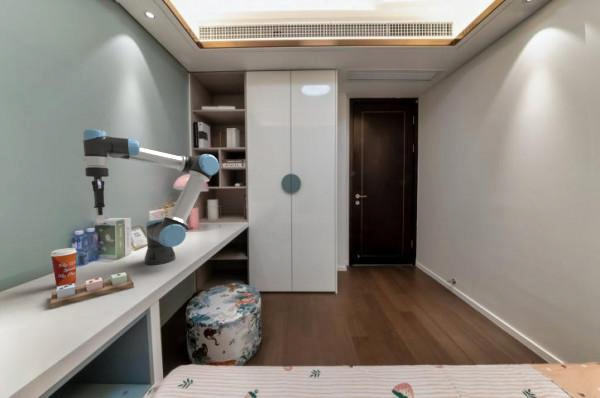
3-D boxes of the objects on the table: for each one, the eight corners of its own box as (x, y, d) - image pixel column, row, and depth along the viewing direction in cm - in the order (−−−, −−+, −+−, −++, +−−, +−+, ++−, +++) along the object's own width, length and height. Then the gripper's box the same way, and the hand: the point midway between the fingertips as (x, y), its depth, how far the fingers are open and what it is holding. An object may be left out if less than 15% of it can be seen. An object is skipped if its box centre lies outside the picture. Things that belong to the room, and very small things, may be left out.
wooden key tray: (128, 279, 109) (128, 275, 109) (133, 287, 101) (133, 282, 101) (52, 297, 93) (51, 292, 93) (51, 308, 84) (50, 303, 84)
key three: (75, 291, 94) (74, 282, 94) (75, 295, 91) (74, 286, 91) (57, 295, 91) (56, 286, 91) (57, 299, 88) (56, 290, 87)
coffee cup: (62, 289, 100) (59, 253, 99) (47, 287, 101) (44, 252, 100) (84, 281, 108) (82, 247, 107) (69, 279, 110) (67, 247, 109)
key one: (125, 279, 105) (124, 271, 105) (127, 282, 102) (126, 274, 102) (111, 282, 102) (110, 274, 102) (113, 286, 99) (112, 277, 98)
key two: (101, 284, 100) (101, 276, 100) (102, 288, 96) (102, 279, 96) (86, 288, 97) (85, 279, 96) (86, 292, 93) (86, 283, 93)
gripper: (84, 167, 105) (88, 221, 107) (86, 166, 96) (90, 225, 98) (106, 168, 110) (109, 219, 112) (110, 166, 101) (113, 223, 103)
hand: (100, 222), depth 105 cm, fingers closed
